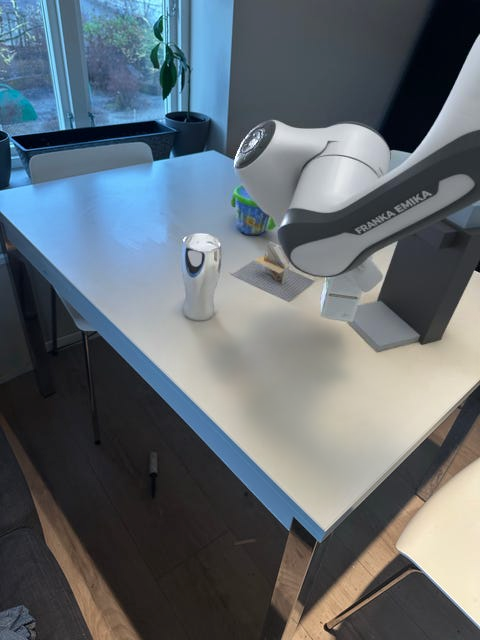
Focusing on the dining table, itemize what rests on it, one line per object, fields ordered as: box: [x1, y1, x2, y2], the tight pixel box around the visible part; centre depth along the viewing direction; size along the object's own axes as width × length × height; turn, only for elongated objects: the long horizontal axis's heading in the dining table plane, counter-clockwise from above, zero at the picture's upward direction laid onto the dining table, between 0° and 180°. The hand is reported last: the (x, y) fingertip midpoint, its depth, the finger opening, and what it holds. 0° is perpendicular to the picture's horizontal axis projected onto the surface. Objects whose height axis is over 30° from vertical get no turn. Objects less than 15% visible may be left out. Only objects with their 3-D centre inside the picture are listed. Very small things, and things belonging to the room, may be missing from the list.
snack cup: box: [230, 185, 276, 236], centre depth 114 cm, size 16×10×10 cm
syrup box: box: [319, 254, 374, 323], centre depth 75 cm, size 6×6×14 cm
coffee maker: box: [347, 200, 480, 353], centre depth 81 cm, size 15×14×27 cm
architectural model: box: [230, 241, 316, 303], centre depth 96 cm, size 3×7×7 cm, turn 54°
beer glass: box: [181, 232, 223, 322], centre depth 81 cm, size 7×7×15 cm
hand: (349, 269), depth 74 cm, fingers closed on syrup box, 7 cm apart
